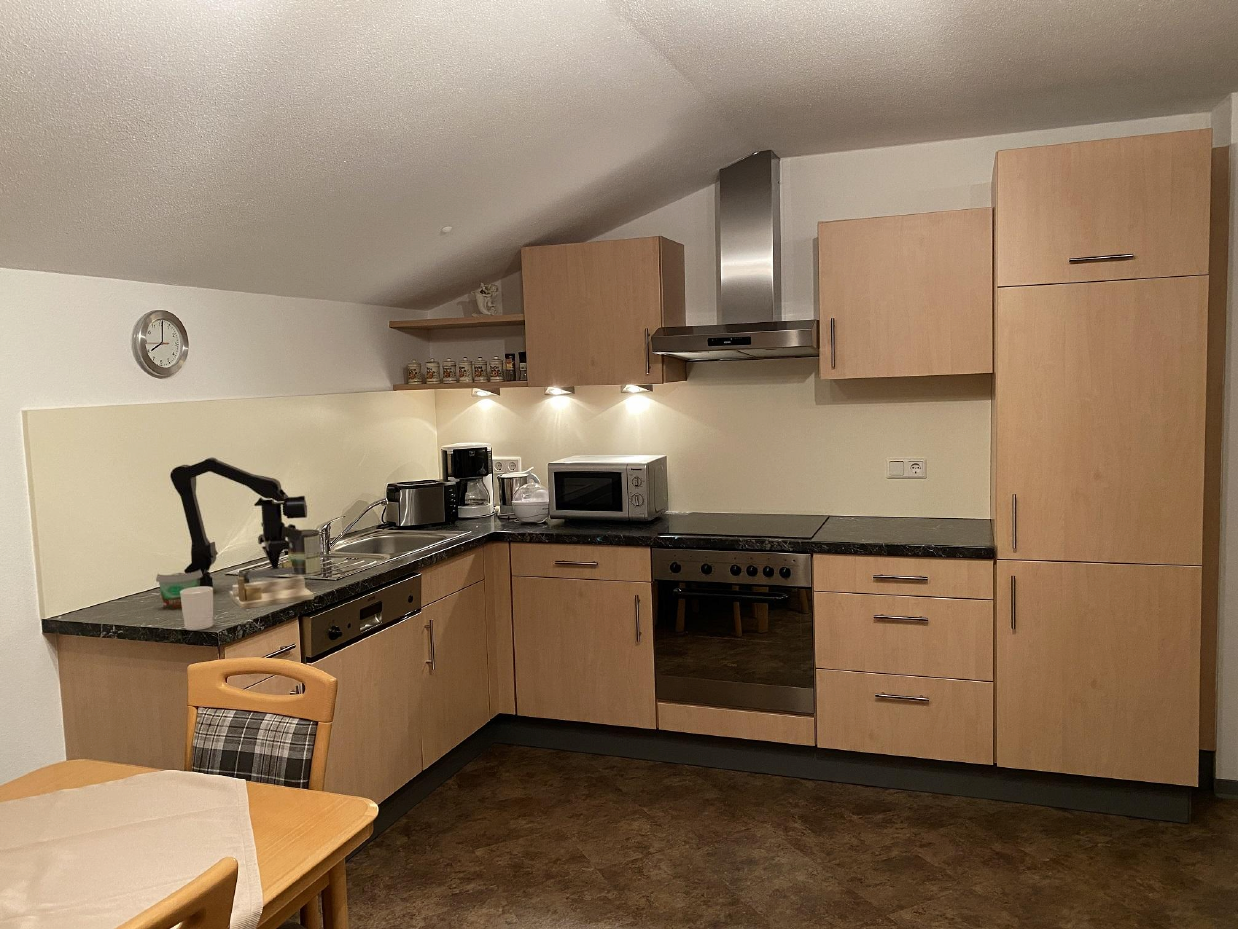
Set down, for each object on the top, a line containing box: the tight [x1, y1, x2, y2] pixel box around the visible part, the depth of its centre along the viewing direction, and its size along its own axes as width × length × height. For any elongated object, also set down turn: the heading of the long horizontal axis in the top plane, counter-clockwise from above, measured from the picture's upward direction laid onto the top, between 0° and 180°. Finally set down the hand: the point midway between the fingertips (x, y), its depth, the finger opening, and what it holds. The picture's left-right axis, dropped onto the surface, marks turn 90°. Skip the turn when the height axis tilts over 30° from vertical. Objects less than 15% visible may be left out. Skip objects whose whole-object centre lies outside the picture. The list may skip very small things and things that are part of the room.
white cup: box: [180, 587, 214, 631], centre depth 250 cm, size 8×8×10 cm
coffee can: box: [286, 529, 322, 578], centre depth 316 cm, size 10×10×14 cm
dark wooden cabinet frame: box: [237, 560, 294, 580], centre depth 287 cm, size 16×3×4 cm, turn 121°
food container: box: [155, 570, 203, 610], centre depth 273 cm, size 12×6×10 cm, turn 114°
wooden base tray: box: [228, 576, 315, 610], centre depth 282 cm, size 20×20×8 cm
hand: (275, 569), depth 294 cm, fingers closed
